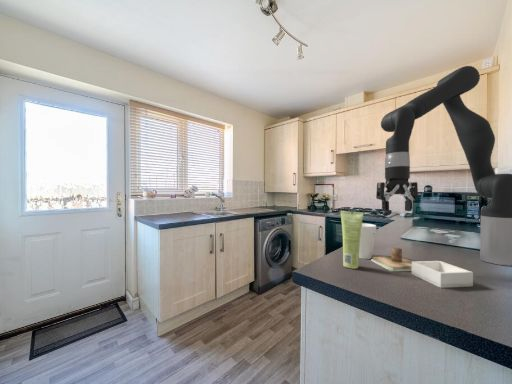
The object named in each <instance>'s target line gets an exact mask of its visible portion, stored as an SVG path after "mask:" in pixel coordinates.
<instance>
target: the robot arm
mask: <svg viewBox="0 0 512 384" xmlns="http://www.w3.org/2000/svg"><path fill="white" fill-rule="evenodd" d="M480 79H481V76H480V72H479V71H478V69H477V68H476V67H474V66H472V65H465V66H462V67H460V68H457V69H455V70H454V71H452V72H450V73H449V74H447V75H444V76H443V77H442V78H440V79H439V80H438V81H437V84H436V86H435V87H433V88H431V89H428V90H427V91H425V92H423V93H422V94H420V95H418V96H416V97H414V98H413V99H411V100H410V101H408V102H407V103H405V104H404V105H402V106H400V107H398V108H396V109H394V110H391V111H390V112H388V113H387V114H385V115H384V116H383V117H382V119H381V121H380V127H381V129H382V130H383V131H384V132H388V133H393V134H392V136H390V137H388V138H387V139H386V141H385V157H384V179H385V182H384V181H383V182H381V181H380V182H377V183H376V196H375V197H376V200H379V201H381V209H382V211H383V212H386V213H387V212H388V213H389V212H390V201H389V200H390V198H391V197H393V196H394V195H400V196H402V197H403V198H404V211H406V212H411V211H412V210H413V201H414V200H416V199H419V187H418V182H417V181H413V182H412V181H410V182H409V179H410V178H411V160H410V159H411V158H410V138H411V136H412V132H413V129H414V126H415V121H416V120H417V119H420V118H421V117H423V116H424V115H427V114H429V112H431V111H432V110H434V109H435V108H437V107H439V106H440V105H442V104H443V107H444V108H445V110H446V111H447V112H446V113H447V114H448V116H449V117H450V120H451V122H452V125H453V127H454V130H455V132H456V135H457V138H458V141H459V142H460V146H461V147H462V150H463V152H464V155H465V158H466V161H467V163H468V166H469V171H470V173H471V177H472V182H473V186H474V189H475V191H476V192H477V194H478V195H479V196H480V197H482V198H486V199H491V203H490V204H489V205H488V206H486V207H482V208H481V209H480V232H479V233H480V234H479V235H480V237H479V238H480V240H479V241H480V242H479V243H480V245H479V246H480V247H479V253H480V254H479V259H480V260H481V261H482V262H487V263H491V264H494V265H501V266H512V173H496V172H495V170H494V168H493V165H492V154H493V151H494V147H495V143H496V137H495V134H494V131H493V128H492V127H491V124H490V122H489V121H488V119H486V118H485V117H484V116H482V115H480V114H478V113H476V112H475V111H473V110H471V109H470V108H468V107H467V106H466V105H465V103H464V102H463V99H462V97H461V96H462V95H463V94H465V93H468V92H469V91H471V90H473V89H474V88H475V87H476V86H478V84H479V81H480ZM385 189H386V190H385Z"/></svg>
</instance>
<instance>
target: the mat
mask: <svg viewBox="0 0 512 384" xmlns="http://www.w3.org/2000/svg"><path fill="white" fill-rule="evenodd" d="M370 261H371V262H372V263H375V264H376V265H378V266H380V267H382V268H384V269H386V270H388V271H390V272H392V273H393V272H412V269H400V270H393V269H391V268H389V267H387V266H385V265H383V264H381V263H379V262H377V261H375V260H373V258H371V259H370Z"/></svg>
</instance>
